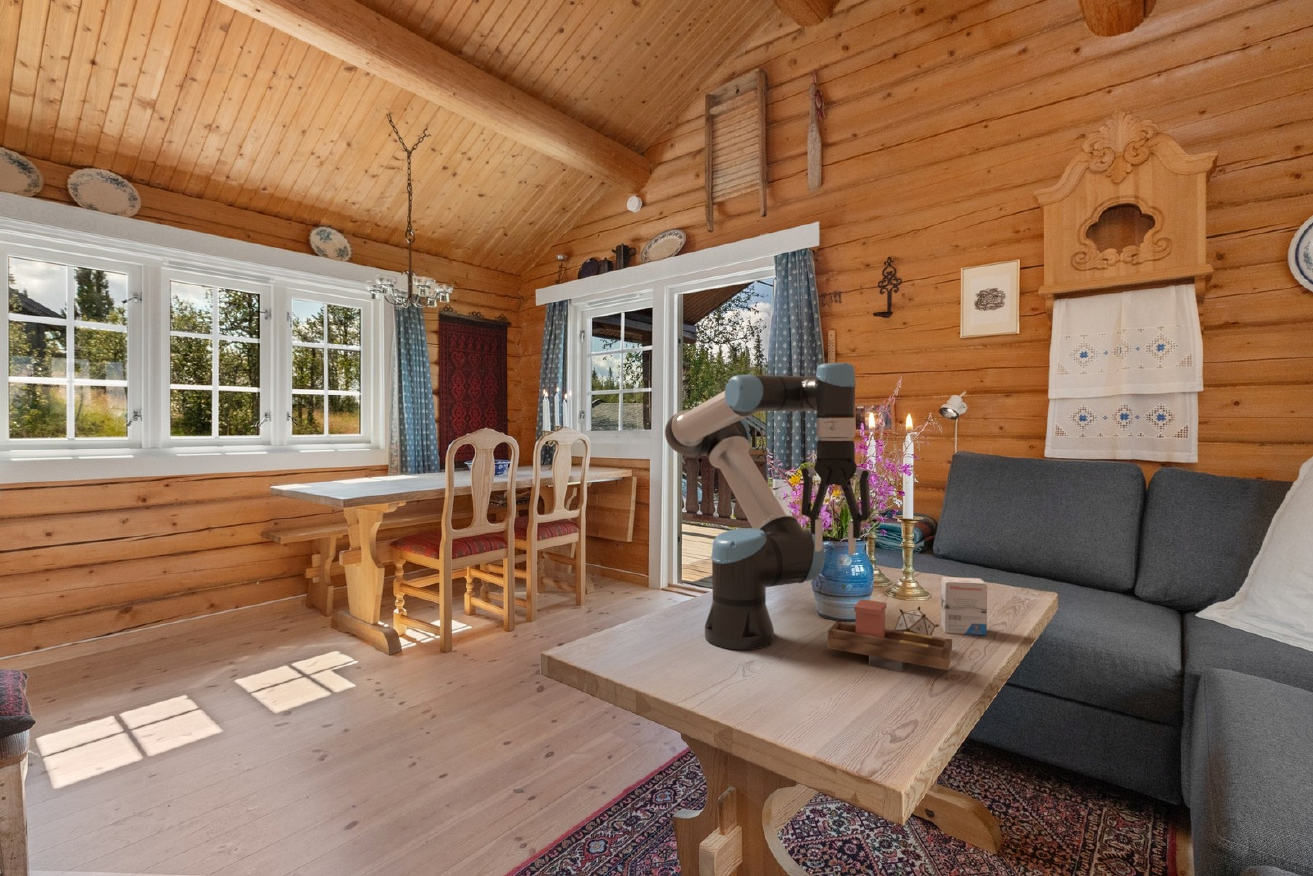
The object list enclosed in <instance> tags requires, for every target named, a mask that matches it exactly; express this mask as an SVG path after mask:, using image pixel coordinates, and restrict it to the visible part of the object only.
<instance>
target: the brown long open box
mask: <svg viewBox="0 0 1313 876" xmlns="http://www.w3.org/2000/svg"><path fill="white" fill-rule="evenodd" d="M827 648H828V649H833V650H837V651H838V650H839V651H844V652H848V653H855V654H859V655H866V656H868V666H869V667H874V668H875V667H876V668H880V669H884V670H890V671H895V672H899V673H903V670H904V668H905V666H906V663H907V664H913V665H918V666H922V667H923V666H925V667H929V668H933V669H934V668H935V669H939V670H940V669H941V670H945V671H949V669H950V665H951V662H952V658H953V639H952V638H942V637H937V636H933V635H932V636H929V635H923V634H917V633H910V632H901V631H895V630H894V629H888V628H885V638H884V637H878V636H872V635H866V634H860V633H856V623H851V622H845V621H842V620H836V621H835V622H834V623H833V624H832V626H831V627H830V628H828V630H827Z"/></svg>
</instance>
